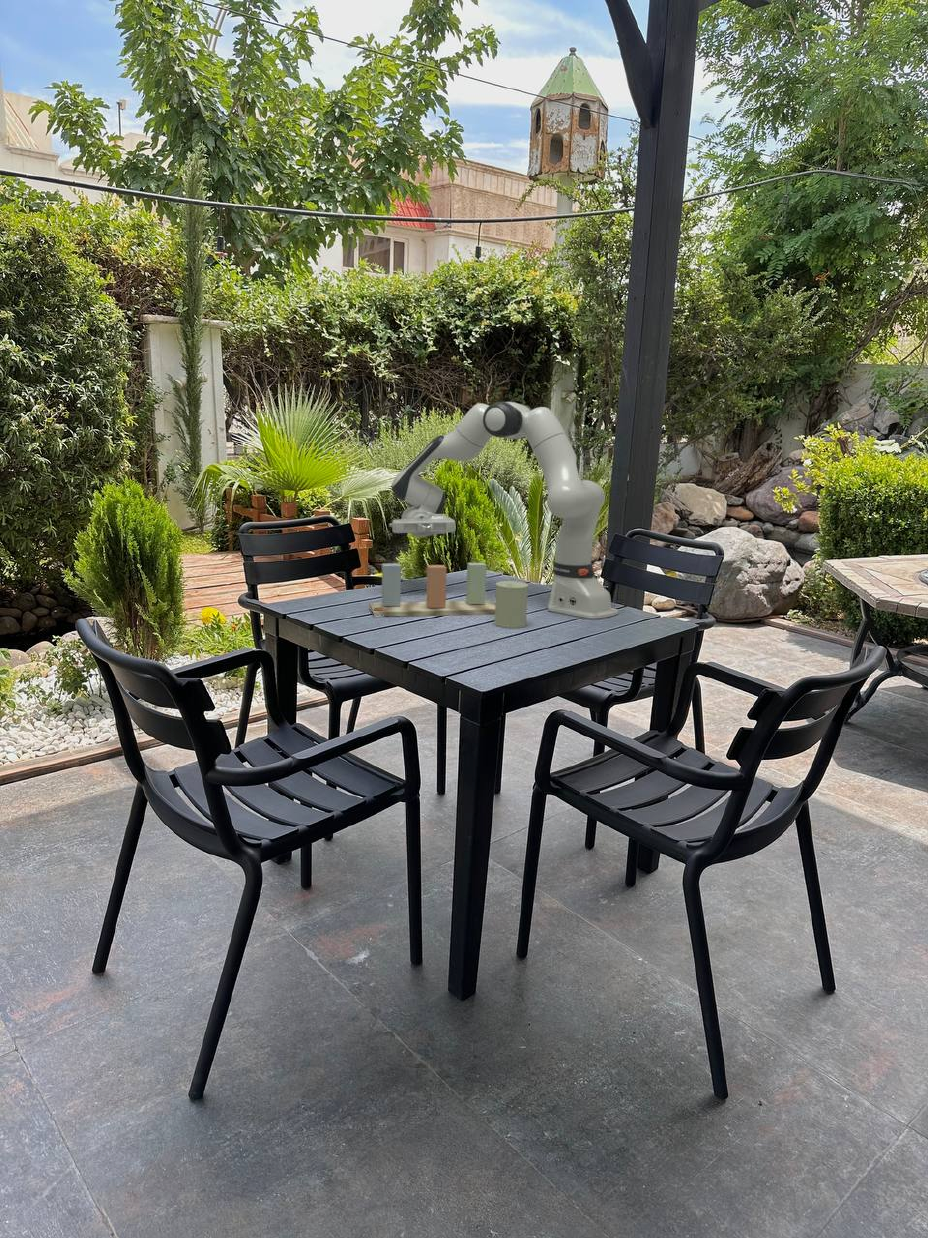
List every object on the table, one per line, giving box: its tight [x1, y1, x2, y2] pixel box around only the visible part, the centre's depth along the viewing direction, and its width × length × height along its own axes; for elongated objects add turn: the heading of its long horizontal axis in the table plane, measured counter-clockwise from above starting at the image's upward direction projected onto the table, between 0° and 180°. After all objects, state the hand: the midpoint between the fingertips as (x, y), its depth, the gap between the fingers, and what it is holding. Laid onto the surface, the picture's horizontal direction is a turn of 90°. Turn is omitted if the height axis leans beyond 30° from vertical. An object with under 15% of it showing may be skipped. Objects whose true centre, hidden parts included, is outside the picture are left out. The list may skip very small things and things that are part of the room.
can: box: [493, 580, 529, 629], centre depth 224 cm, size 9×9×12 cm
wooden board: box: [369, 599, 496, 617], centre depth 237 cm, size 38×12×2 cm, turn 103°
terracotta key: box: [426, 564, 447, 608], centre depth 234 cm, size 5×4×12 cm
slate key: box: [381, 562, 402, 606], centre depth 235 cm, size 5×4×12 cm
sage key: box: [465, 562, 488, 604], centre depth 241 cm, size 5×4×12 cm
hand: (427, 529), depth 246 cm, fingers closed
